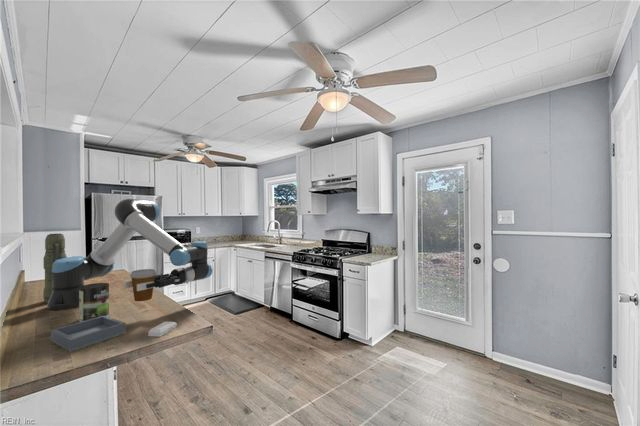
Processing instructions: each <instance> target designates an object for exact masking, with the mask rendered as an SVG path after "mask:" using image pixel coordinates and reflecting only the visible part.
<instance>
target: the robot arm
mask: <svg viewBox="0 0 640 426" xmlns="http://www.w3.org/2000/svg"><path fill="white" fill-rule="evenodd" d="M114 216H115V218H116V219H117V220H118V221H119V224H118V226H117V227H116V228H115V229H114V230H112V232H111V233H110V235H109V236H108V237H107V238H106V240H105V241H104V242H103V243H102V244H101V245H100V246H99V247H98V248H97V249H94V250H92V251H91V252H90V253H89V254H88V255H87V256H86V257H84V256H81V255H76V256H74V255H72V256H69V257H68V256H67V257H66V258H62V259H59V260H56V261H55V262H54V263H53V267H52V294H51V296H50V299H49V301H48V303H46V308H47V310H51V311H59V310H68V309H69V310H70V309H73V308H78V307H79V287H81V286H84V285H85V284H84V283H85V281H87V280H91V279H95V278H101V277H104V276H107V275H109V274H110V273H111V272H112V271H113V269H114V267H115V257H116V256H117V255H118V254H119V253H120V251H121V250H122V249H123V248H124V247H125V246H126V244H127V243H128V242H129V241H130V240H131V239H132V237H133V236H134V235H135V234H136V233H138V234H139V235H140V236H142V237H143V238H144V239H146V240H147V241H149V243H151V244H152V245H154V246H155V247H157V248H158V249H159V250H160V251H161V252H163V253H164V254H166V255H167V256H168V257H169V261H170V262H171V264H172V265H174V266H176V267H179V268H175V269H172V270H171V272H170V273H165V274H163V273H159V274H156V275H155V279H154V281H151V282H146V283H141V284H137V291H141V290H146V289H150V288H153V289H154V288H156V289H157V288H159V289H160V288H164V287H168V286H171V285H175V286H179V285H183V284H189V282H190V283H191V282H195V281H200V280H205V279H208V278H209V277H211V276H212V274H213V268H212V265H211V264H210V263H208V243H207V242H206V241H202V240H201V241H199V240H198V241H193V242H191V246H190V247H186V246H185V245H184V244H182V243H181V242H179V241H178V240H177V239H175V237H173V236H171V235H170V234H168V232H166V231H164V230H163V229H162V228H161V227H160V226H158V225H157V224H155V223H154V222H155V221H156V220H158V218H159V216H160V208H159V206H158V204H157V202H155V201H153V200H148V199H135V198H134V199H133V198H126V199H123V200H120V201H118V203H117V204H116V206H115V207H114ZM188 264H191V266H186V265H188ZM181 266H182V267H181ZM183 266H184V267H183ZM124 283H125V284H124V285H125V286H124V288H125V289H129V288H133V286H132V280H126V281H125V282H124Z"/></svg>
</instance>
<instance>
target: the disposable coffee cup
mask: <svg viewBox="0 0 640 426" xmlns="http://www.w3.org/2000/svg"><path fill="white" fill-rule="evenodd" d="M155 275H157V272H156V269H155V268H146V269H137V270H132V271H131V273H130V274H129V276H130V279H131V281H132V286H133V287H132V291H133V299H134V301H135V302H145V301H150V300H152V298H153V293H154V288H150V289H146V290H141V291H137V284H141V283H146V282H151V281H154V279H155Z"/></svg>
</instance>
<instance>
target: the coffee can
mask: <svg viewBox="0 0 640 426" xmlns="http://www.w3.org/2000/svg"><path fill="white" fill-rule="evenodd" d="M78 307H79V310H78V311H79V312H78V313H79V314H78V317H79V319H78V321H79V322H82V321H86V320H89V319H93V318H97V317H100V316H107V317H109V316H110V310H109V309H110V283H108V282H96V283H90V284H84V286H81V287H79V306H78Z"/></svg>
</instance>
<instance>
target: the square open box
mask: <svg viewBox="0 0 640 426" xmlns="http://www.w3.org/2000/svg"><path fill="white" fill-rule="evenodd" d="M126 327H127V326H126V322H124V321H122V320H118V319H115V318H112V317H109V316H108V317H107V316H100V317H97V318H93V319H89V320H86V321H82V322H80V321H79V322H75V323H72V324H68V325H65V326H60V327H57V328H53V329H51V330H50V341H51V342H52V343H54V344H55V345H57V346H60V347H61V348H64V349H65V350H67V351H69V352H74V351H76V350H79V349H83V348H86V347H89V346H92V345H95V344H97V343H100V342H103V341H106V340H109V339H112V338H115V337H118V336H121V335H124V334H126V330H127V328H126Z"/></svg>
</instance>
